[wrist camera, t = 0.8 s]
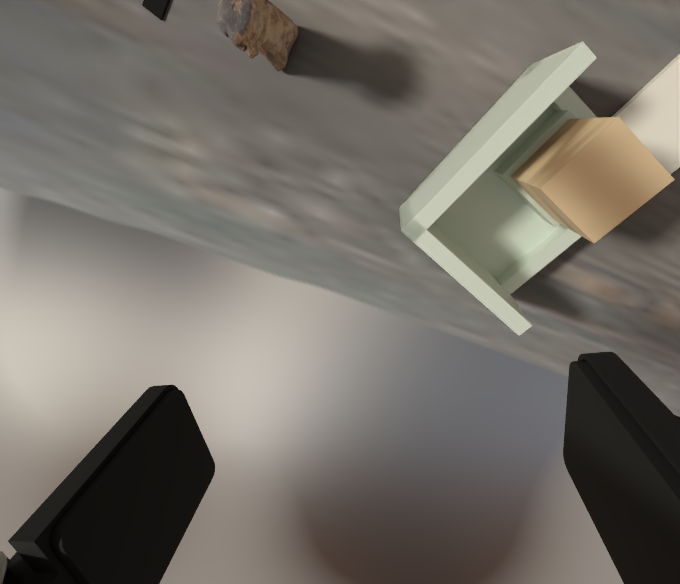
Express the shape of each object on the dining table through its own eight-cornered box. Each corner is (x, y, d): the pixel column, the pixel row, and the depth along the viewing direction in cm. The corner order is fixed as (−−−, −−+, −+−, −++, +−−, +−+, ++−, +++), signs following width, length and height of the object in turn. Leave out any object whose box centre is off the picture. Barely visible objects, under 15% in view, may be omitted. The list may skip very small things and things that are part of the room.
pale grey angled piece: (531, 64, 27) (582, 41, 20) (632, 174, 29) (712, 190, 22) (398, 207, 32) (401, 231, 25) (492, 291, 35) (519, 335, 27)
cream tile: (688, 45, 25) (694, 43, 25) (741, 111, 27) (749, 111, 26) (603, 124, 28) (607, 124, 27) (654, 181, 29) (659, 182, 29)
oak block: (569, 118, 25) (619, 116, 20) (615, 168, 26) (674, 179, 21) (510, 176, 27) (540, 188, 22) (554, 220, 28) (594, 243, 23)
